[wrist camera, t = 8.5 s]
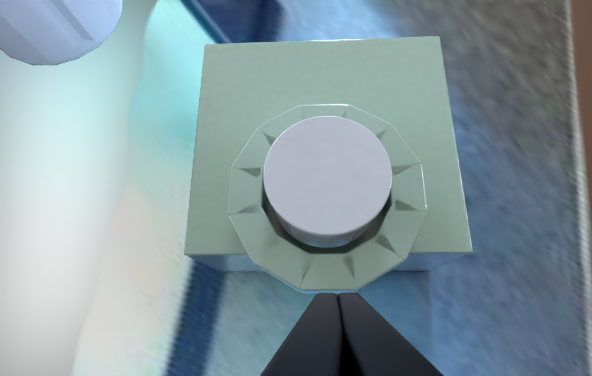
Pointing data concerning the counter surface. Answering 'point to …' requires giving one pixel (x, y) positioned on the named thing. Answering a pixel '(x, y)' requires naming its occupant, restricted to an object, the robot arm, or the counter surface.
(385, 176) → the flush button
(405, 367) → the robot arm
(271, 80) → the push button box
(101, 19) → the soap bottle
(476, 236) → the counter surface
